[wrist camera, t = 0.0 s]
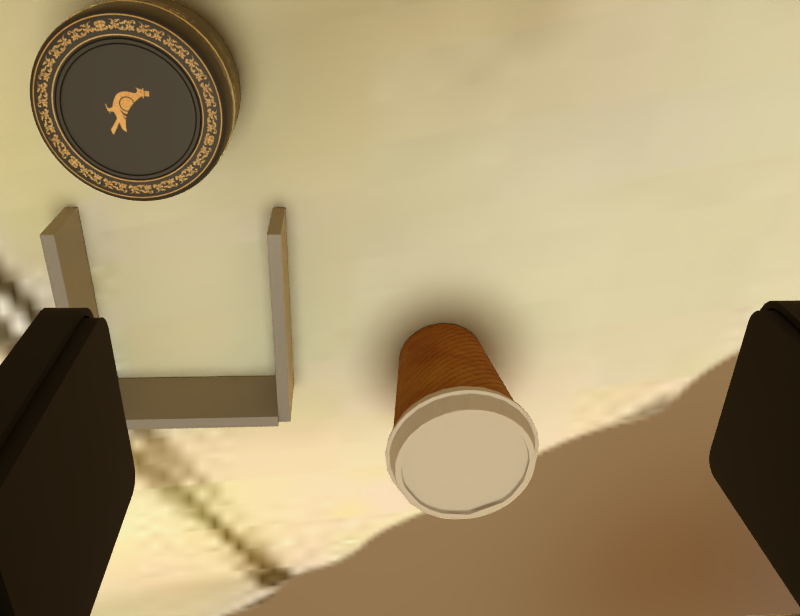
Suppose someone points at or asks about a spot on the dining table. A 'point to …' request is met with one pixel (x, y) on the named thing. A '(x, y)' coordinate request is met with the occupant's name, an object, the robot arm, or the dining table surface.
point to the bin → (186, 396)
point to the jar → (136, 97)
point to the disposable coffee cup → (457, 428)
